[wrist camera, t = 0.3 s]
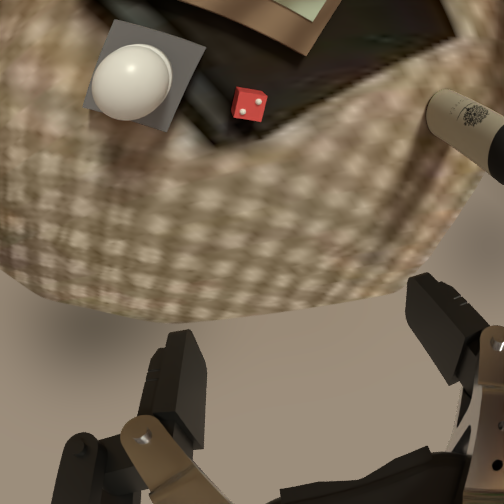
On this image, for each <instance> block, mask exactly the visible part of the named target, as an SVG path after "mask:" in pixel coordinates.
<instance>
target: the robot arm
mask: <svg viewBox="0 0 504 504" xmlns="http://www.w3.org/2000/svg"><path fill="white" fill-rule="evenodd" d="M405 315H406V319H407V323H408V325H409V326H410V328H411V329H412V331H413V332H414V333H415V335H416V337H417V338H418V339H419V341H420V342H421V344H422V345H423V347H424V348H425V350H426V351H427V353H428V354H429V356H430V357H431V359H432V360H433V362H434V363H435V365H436V366H437V368H438V369H439V371H440V373H441V374H442V376H443V377H444V379H445V380H446V382H447V384H448V385H449V386H450V385H452V384H454V383H456V382H458V381H460V383H461V384H462V387H461V390H460V395H459V402H458V407H457V413H456V418H455V423H454V428H453V432H452V435H451V438H450V441H449V443H448V445H447V448H446V451H445V452H433V453H431V452H430V450H429V448H428V446H425V447H423V448H420V449H418V450H416V451H413V452H411V453H408V454H406V455H403V456H401V457H398V458H395V459H394V460H392V461H391V462H389V463H387V464H386V465H384V466H383V467H381V468H380V469H378V470H376V471H374V472H373V473H371V474H369V475H368V476H366V477H364V478H362V479H359V480H351V481H329V482H315V483H310V484H305V485H300V486H296V487H290V488H284V489H280V495H281V497H279V498H277V499H274V500H273V501H270V502H268V503H267V504H504V327H503V326H498V325H494V326H490V325H489V324H488V323H487V322H486V321H485V320H484V319H483V318H482V316H480V314H479V313H478V312H477V311H476V310H475V309H474V308H473V307H472V306H471V305H470V304H469V303H467V301H466V300H465V299H464V298H463V297H461V295H460V294H459V293H458V292H457V291H456V290H455V289H454V288H453V287H452V286H450V285H447V284H445V283H443V282H438V281H437V280H435V278H434V277H433V276H431V274H429V273H427V272H426V273H423V274H419V275H416V276H413V277H410V278H409V279H408V282H407V296H406V308H405ZM206 386H207V368H206V363H205V360H204V358H203V355H202V353H201V351H200V349H199V347H198V344H197V342H196V340H195V337H194V335H193V333H192V331H191V330H189V329H187V330H183V331H176V332H170V333H169V334H168V338H167V342H166V347H165V348H159V349H158V350H157V351H156V353H155V354H154V356H153V357H152V358H151V361H150V365H149V368H148V373H147V376H146V382H145V385H144V389H143V393H142V397H141V401H140V406H139V411H138V414H137V417H134V418H133V419H131V420H129V421H128V422H127V423H126V424H125V425H124V427H123V429H122V431H121V434H119V435H115V436H112V437H109V438H105V439H101V440H97V439H96V438H95V437H94V436H93V435H92V434H90V433H86V432H82V433H78V434H75V435H74V436H72V437H71V438H70V439H69V440H68V441H67V443H66V444H65V447H64V450H63V454H62V458H61V461H60V465H59V469H58V474H57V478H56V483H55V487H54V492H53V497H52V502H51V504H140V502H141V490H145V489H150V492H151V493H149V497H150V499H151V501H152V503H153V504H234V503H233V502H232V501H230V499H229V498H228V497H227V496H226V495H225V494H223V492H221V490H220V489H219V488H218V487H217V486H216V485H215V484H214V483H213V482H212V481H211V480H210V479H209V478H208V477H207V476H206V475H205V473H204V472H203V471H202V470H201V469H200V468H199V467H198V466H197V465H196V463H195V462H194V461H193V450H197V449H204V427H205V405H206Z"/></svg>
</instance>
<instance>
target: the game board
mask: <svg viewBox="0 0 504 504" xmlns="http://www.w3.org/2000/svg"><path fill="white" fill-rule="evenodd" d="M178 1H181V2H184V3H187V4H190V5H193V6H196V7H198V8H201V9H204V10H207V11H209V12H212V13H215V14H217V15H220V16H222V17H225V18H227V19H229V20H232V21H234V22H236V23H239V24H241V25H243V26H246V27H248V28H250V29H252V30H254V31H256V32H259V33H261V34H263V35H265V36H267V37H269V38H271V39H273V40H275V41H277V42H279V43H281V44H283V45H285V46H286V47H288V48H290V49H292V50H294V51H296V52H297V53H299V54H301V55H304V56H307V54H308V53H309V51H310V49H311V48H312V46H313V44H314V43H315V41H316V40H317V38H318V36H319V35H320V33H321V32H322V30H323V28H324V27H325V25H326V24H327V22H328V21H329V19H330V18H331V16H332V14H333V13H334V11H335V10H336V8H337V7H338V5H339V4H340V2H341V1H342V0H178Z"/></svg>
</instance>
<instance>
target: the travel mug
mask: <svg viewBox="0 0 504 504" xmlns="http://www.w3.org/2000/svg"><path fill="white" fill-rule="evenodd" d="M426 119H427V125H428V127H429V129H430V131H431V132H432V133H433V134H434V135H435V136H437V137H438V138H440V139H441V140H443V141H444V142H446V143H447V144H449V145H450V146H452V147H453V148H455V149H456V150H457V151H459V152H460V153H462V154H463V155H465V156H466V157H467V158H469V159H470V160H471V161H473V162H474V163H475V164H477V165H478V166H479V167H481V168H482V169H483V170H485V171H486V172H487V173H488V174H490V175H491V176H492V177H493V178H495V179H496V180H497V181H498V182H499V183H501V184H502V185H504V116H502V115H501V114H499V113H497V112H495V111H493V110H491V109H490V108H488V107H486V106H484V105H482V104H480V103H478V102H476V101H474V100H472V99H470V98H467V97H465V96H463V95H461V94H459V93H456V92H454V91H452V90H449V89H444V90H441V91H439V92H437V93H436V94H435V95H434V96H433V97H432V99H431V100H430V102H429V104H428V108H427V113H426Z"/></svg>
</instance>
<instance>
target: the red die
mask: <svg viewBox="0 0 504 504" xmlns="http://www.w3.org/2000/svg"><path fill="white" fill-rule="evenodd" d="M266 100H267V95H266V94H264V93H263V92H262V91H258V90H253V89H247V88H241V87H236V89H235V94H234V99H233V103H232V108H231V112H232V115H233V117H234V118H240V119H247V120H253V121H259V122H261V120H262V116H263V112H264V108H265V104H266Z"/></svg>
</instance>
